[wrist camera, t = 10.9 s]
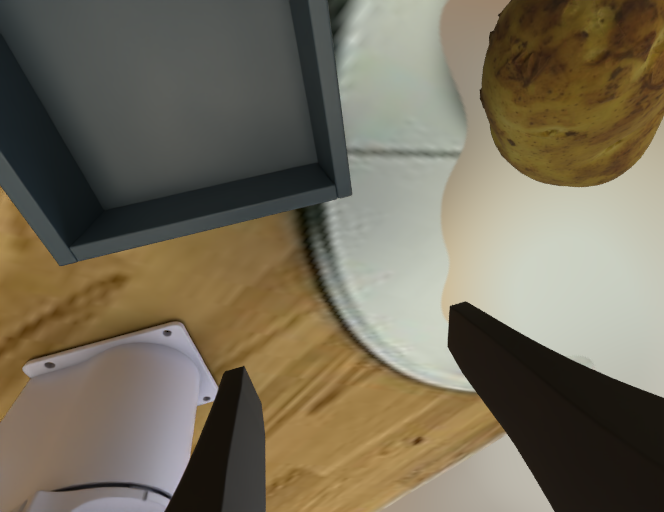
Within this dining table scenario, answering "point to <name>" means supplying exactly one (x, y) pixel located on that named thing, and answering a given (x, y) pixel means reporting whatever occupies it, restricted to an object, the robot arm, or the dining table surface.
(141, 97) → the tote
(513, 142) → the potato
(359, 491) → the dining table surface
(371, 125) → the dining table surface
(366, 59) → the dining table surface
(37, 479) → the robot arm
